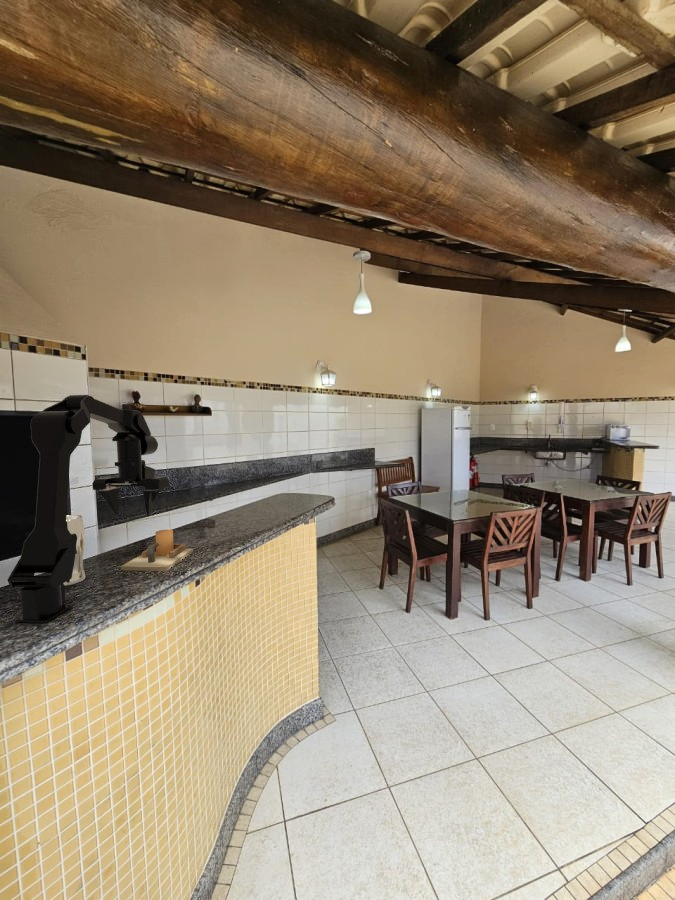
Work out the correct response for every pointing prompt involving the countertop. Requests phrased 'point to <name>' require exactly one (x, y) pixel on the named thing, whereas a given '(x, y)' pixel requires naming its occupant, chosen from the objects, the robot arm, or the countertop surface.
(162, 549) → the orange rounded capsule
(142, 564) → the hook board
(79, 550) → the silver tall piece
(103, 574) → the countertop surface
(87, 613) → the countertop surface
